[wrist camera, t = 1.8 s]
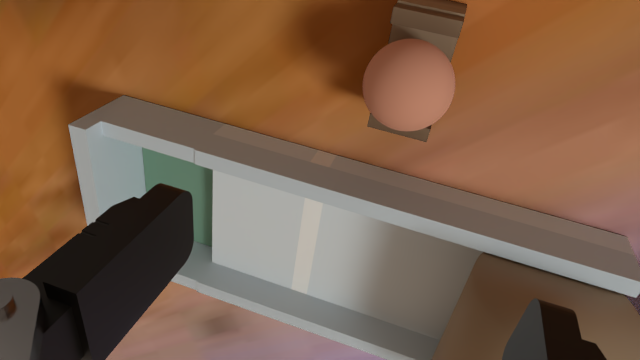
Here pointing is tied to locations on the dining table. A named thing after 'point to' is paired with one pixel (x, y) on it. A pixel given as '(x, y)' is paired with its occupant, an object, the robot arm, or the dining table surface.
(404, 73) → the ball
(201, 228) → the pit mat
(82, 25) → the dining table surface
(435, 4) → the brown wooden bracket block
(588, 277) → the lane
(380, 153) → the dining table surface
